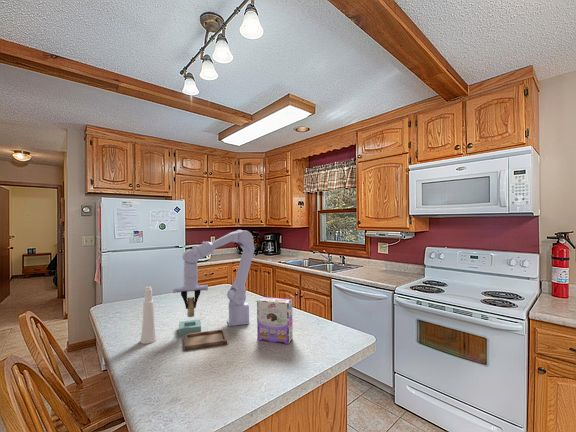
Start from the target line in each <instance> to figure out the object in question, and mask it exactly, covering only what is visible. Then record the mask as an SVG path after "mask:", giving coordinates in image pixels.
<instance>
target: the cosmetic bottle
mask: <svg viewBox="0 0 576 432" xmlns="http://www.w3.org/2000/svg"><path fill="white" fill-rule="evenodd" d="M141 323H142V325H141V334H140V341H139V342H140V344H142V345H148V344H152V343H154V342H156V341H157V332H156V323H155V305H154V300H153V289H152V286H151V285H148V286H145V289H144V301H143V305H142V322H141Z"/></svg>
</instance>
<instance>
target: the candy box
mask: <svg viewBox="0 0 576 432" xmlns="http://www.w3.org/2000/svg"><path fill="white" fill-rule="evenodd" d="M256 315H257V317H256V320H257V321H256V322H257V323H256V324H257V326H256V327H257V331H256V332H257V334H256V335H257V336H256V337H257V339H256V340H258V341H265V342H270V343H276V344H277V343H279V344H285V345H289V344H290V343H291V342H292V340H293V331H294V330H293V325H294V324H293V321H294V319H293V299H292V298H291V299H288V298H277V297H267V296H262V297H261V298H259V299H258V300H256Z"/></svg>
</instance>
